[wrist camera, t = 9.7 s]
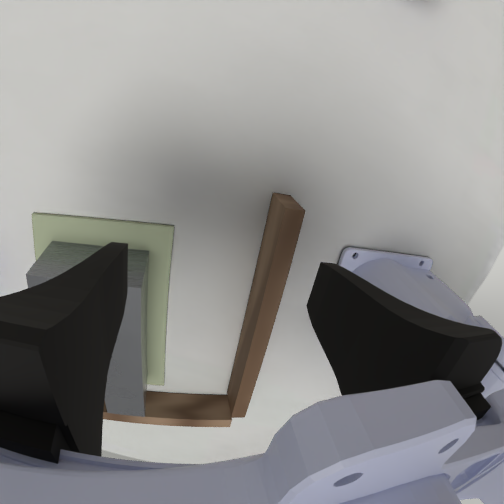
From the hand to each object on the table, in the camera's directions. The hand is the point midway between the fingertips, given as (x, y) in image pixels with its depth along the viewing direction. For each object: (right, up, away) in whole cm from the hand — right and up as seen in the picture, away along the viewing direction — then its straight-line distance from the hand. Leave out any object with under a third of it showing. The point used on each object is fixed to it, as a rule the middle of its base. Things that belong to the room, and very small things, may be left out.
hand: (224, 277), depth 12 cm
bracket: (-10, -4, +10) cm, 15 cm away
